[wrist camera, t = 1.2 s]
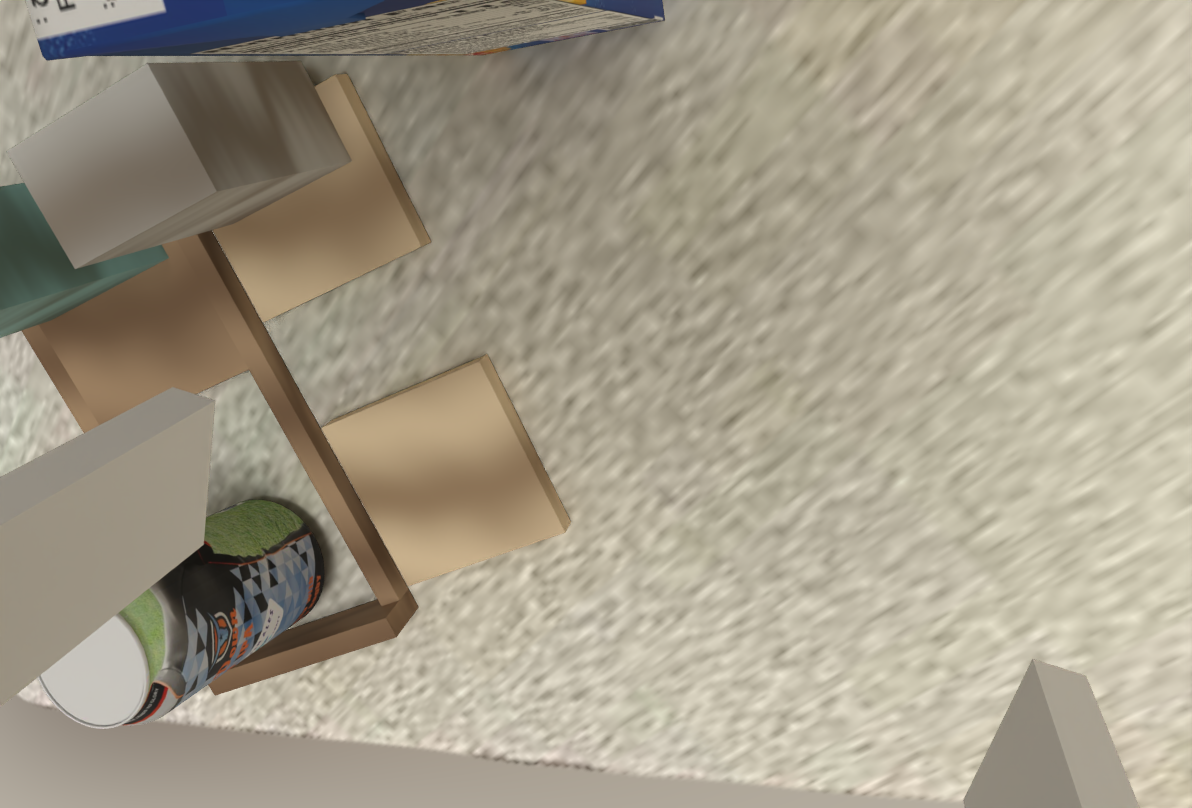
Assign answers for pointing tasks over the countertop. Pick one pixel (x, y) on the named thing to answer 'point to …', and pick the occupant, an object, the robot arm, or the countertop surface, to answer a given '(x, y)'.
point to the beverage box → (321, 26)
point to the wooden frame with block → (184, 386)
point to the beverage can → (193, 620)
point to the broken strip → (299, 273)
